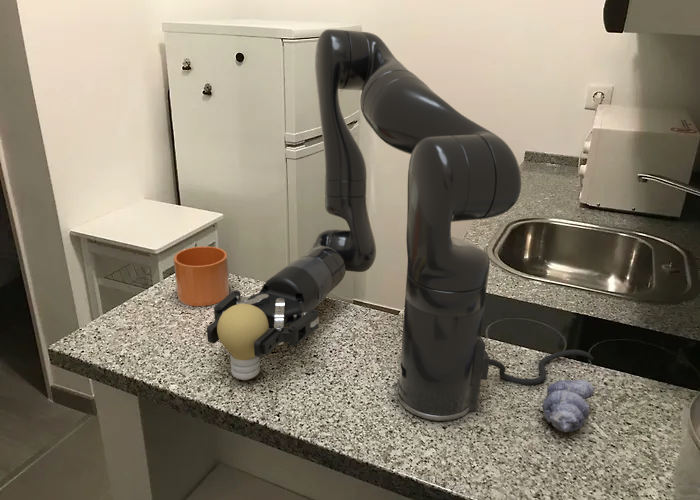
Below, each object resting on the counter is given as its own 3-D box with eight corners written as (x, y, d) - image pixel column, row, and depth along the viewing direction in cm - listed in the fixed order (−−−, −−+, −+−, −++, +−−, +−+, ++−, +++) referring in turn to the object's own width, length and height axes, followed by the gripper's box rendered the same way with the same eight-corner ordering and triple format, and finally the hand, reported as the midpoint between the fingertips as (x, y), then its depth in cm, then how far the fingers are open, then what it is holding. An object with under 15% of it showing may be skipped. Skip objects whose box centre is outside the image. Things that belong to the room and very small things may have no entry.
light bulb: (210, 379, 75) (204, 311, 71) (241, 355, 81) (237, 291, 77) (251, 394, 73) (246, 325, 69) (279, 368, 78) (277, 302, 74)
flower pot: (231, 282, 102) (229, 245, 99) (226, 305, 94) (224, 266, 92) (182, 283, 101) (178, 246, 99) (173, 306, 94) (169, 267, 91)
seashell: (561, 401, 76) (556, 454, 67) (540, 369, 75) (532, 417, 67) (601, 389, 73) (601, 441, 64) (579, 355, 72) (577, 403, 64)
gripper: (256, 256, 87) (183, 304, 73) (342, 275, 82) (282, 331, 68) (258, 301, 90) (188, 355, 76) (342, 322, 85) (283, 384, 71)
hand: (233, 343), depth 72 cm, fingers closed on light bulb, 6 cm apart
